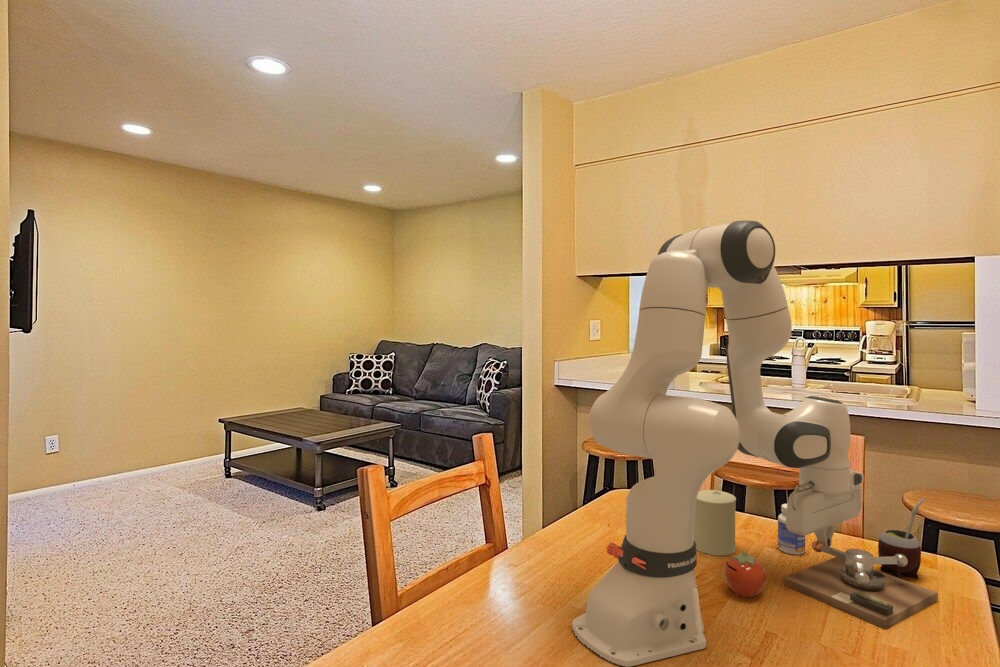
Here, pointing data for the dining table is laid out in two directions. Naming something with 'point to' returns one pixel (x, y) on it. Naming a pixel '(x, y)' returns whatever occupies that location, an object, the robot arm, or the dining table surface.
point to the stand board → (862, 594)
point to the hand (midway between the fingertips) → (824, 546)
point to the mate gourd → (901, 549)
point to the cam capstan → (861, 566)
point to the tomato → (745, 575)
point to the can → (715, 522)
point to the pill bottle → (789, 536)
